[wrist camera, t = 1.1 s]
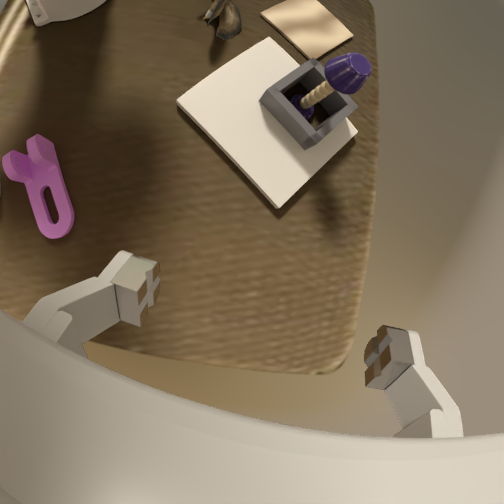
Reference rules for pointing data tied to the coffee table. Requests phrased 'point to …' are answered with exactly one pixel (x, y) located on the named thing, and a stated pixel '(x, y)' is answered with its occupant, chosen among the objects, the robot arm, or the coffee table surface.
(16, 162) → the bracket
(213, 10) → the eagle figurine
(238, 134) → the socket board
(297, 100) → the toy lamp
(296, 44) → the birch pad
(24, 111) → the coffee table surface
